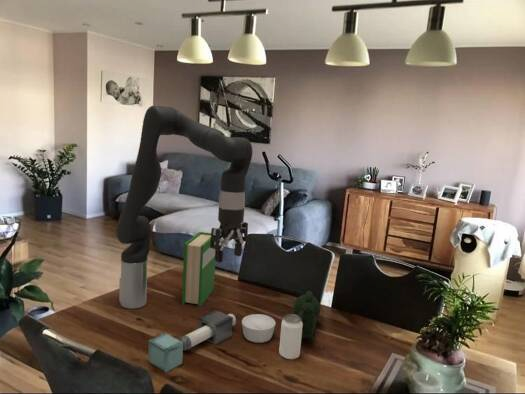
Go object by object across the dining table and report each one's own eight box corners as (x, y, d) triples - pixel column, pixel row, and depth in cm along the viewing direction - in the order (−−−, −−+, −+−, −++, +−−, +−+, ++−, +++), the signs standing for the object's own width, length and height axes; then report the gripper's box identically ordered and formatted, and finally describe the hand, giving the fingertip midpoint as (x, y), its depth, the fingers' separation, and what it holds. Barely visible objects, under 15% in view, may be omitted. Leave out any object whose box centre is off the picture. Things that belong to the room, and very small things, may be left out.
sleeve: (198, 336, 137) (199, 317, 136) (215, 327, 143) (216, 309, 142) (215, 344, 132) (216, 325, 131) (231, 335, 139) (233, 317, 138)
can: (298, 361, 126) (302, 324, 124) (277, 357, 128) (280, 321, 125) (300, 350, 133) (304, 315, 131) (280, 347, 134) (283, 312, 132)
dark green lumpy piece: (318, 355, 134) (318, 314, 158) (324, 302, 129) (323, 268, 153) (289, 351, 135) (293, 311, 159) (293, 298, 130) (297, 265, 154)
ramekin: (235, 339, 136) (236, 324, 136) (248, 325, 147) (249, 311, 146) (267, 348, 133) (269, 332, 132) (278, 332, 143) (279, 318, 142)
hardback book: (200, 306, 158) (203, 245, 154) (181, 304, 159) (184, 243, 155) (213, 289, 175) (216, 233, 171) (196, 286, 176) (199, 231, 172)
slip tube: (178, 347, 128) (179, 334, 127) (226, 322, 145) (227, 311, 144) (188, 352, 125) (188, 339, 124) (235, 326, 143) (236, 315, 142)
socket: (148, 361, 121) (148, 340, 120) (164, 353, 126) (165, 333, 124) (166, 372, 116) (166, 350, 115) (182, 363, 121) (183, 342, 120)
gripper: (237, 201, 130) (234, 251, 133) (205, 206, 119) (202, 260, 122) (256, 205, 126) (252, 256, 129) (225, 211, 115) (221, 267, 118)
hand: (228, 258), depth 125 cm, fingers open, 8 cm apart
